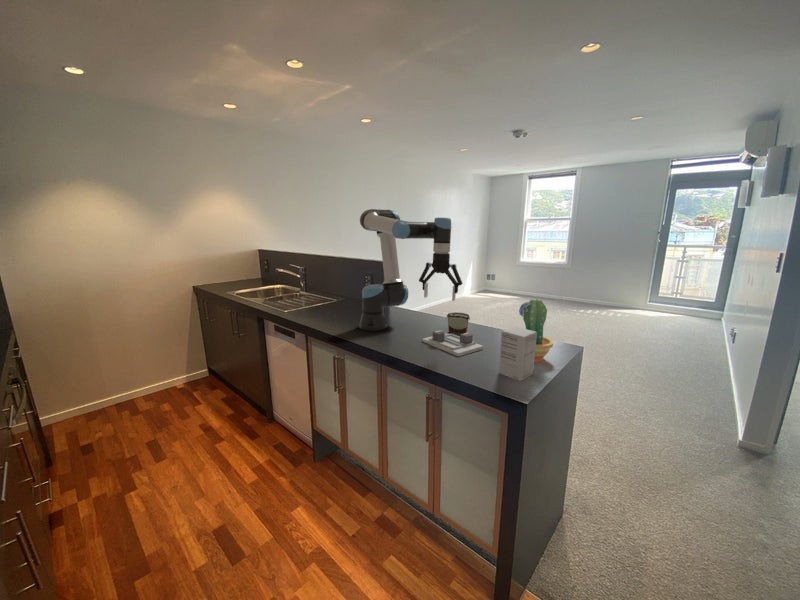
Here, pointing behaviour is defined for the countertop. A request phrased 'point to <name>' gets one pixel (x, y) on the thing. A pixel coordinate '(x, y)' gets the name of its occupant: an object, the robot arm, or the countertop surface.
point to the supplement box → (517, 353)
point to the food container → (458, 322)
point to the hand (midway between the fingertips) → (439, 298)
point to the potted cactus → (536, 325)
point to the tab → (438, 336)
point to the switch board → (453, 345)
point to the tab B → (466, 338)
